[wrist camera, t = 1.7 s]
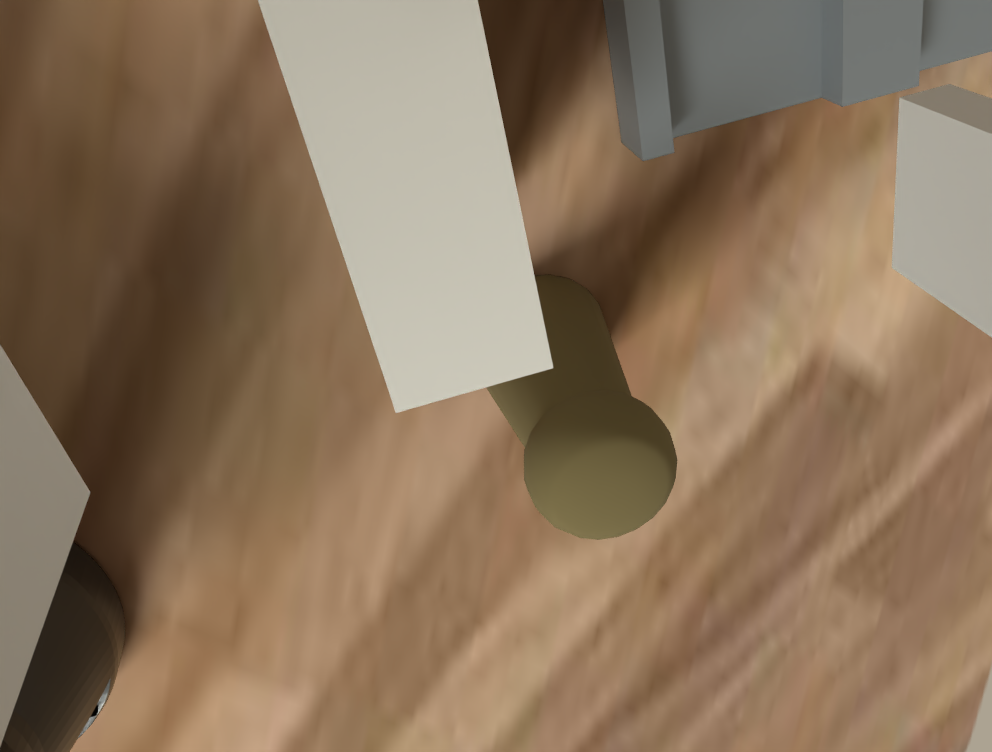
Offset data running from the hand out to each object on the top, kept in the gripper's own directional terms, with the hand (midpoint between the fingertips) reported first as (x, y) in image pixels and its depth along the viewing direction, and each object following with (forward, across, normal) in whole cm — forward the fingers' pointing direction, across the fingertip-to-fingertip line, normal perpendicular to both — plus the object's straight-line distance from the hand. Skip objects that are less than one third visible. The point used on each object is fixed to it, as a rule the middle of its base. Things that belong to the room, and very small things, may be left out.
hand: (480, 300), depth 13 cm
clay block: (+21, 0, 0) cm, 21 cm away
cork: (+21, +3, -13) cm, 25 cm away
